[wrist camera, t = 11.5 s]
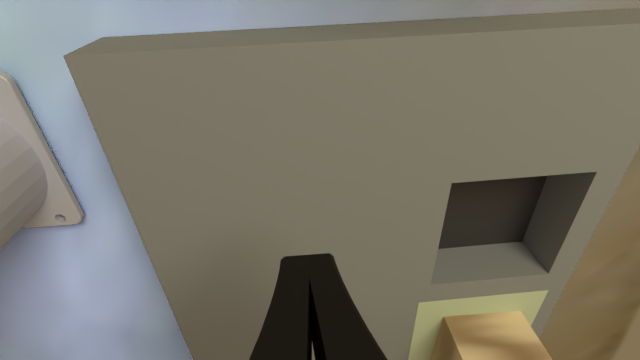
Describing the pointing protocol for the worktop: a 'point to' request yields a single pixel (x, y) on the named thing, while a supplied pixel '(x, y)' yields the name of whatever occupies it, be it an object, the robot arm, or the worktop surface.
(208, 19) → the worktop surface
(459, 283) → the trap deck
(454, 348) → the maple block
